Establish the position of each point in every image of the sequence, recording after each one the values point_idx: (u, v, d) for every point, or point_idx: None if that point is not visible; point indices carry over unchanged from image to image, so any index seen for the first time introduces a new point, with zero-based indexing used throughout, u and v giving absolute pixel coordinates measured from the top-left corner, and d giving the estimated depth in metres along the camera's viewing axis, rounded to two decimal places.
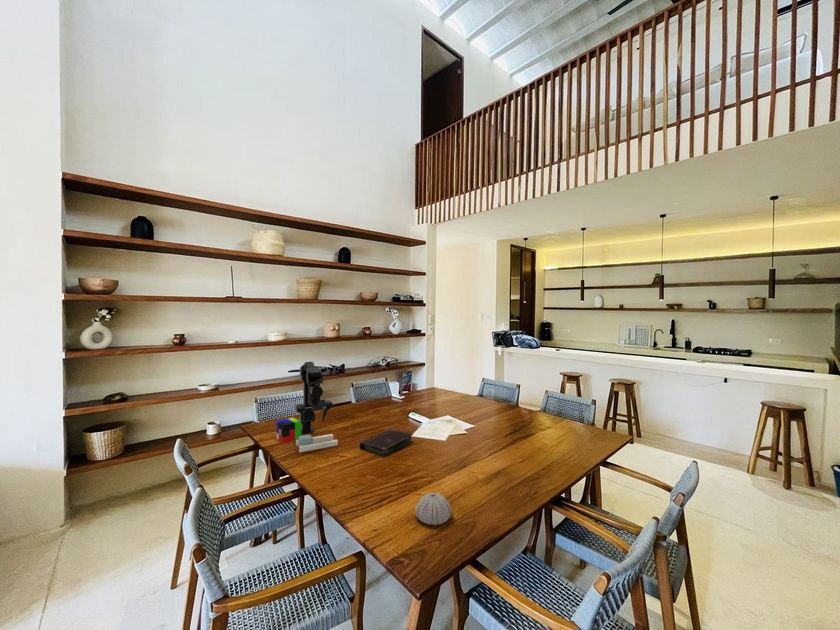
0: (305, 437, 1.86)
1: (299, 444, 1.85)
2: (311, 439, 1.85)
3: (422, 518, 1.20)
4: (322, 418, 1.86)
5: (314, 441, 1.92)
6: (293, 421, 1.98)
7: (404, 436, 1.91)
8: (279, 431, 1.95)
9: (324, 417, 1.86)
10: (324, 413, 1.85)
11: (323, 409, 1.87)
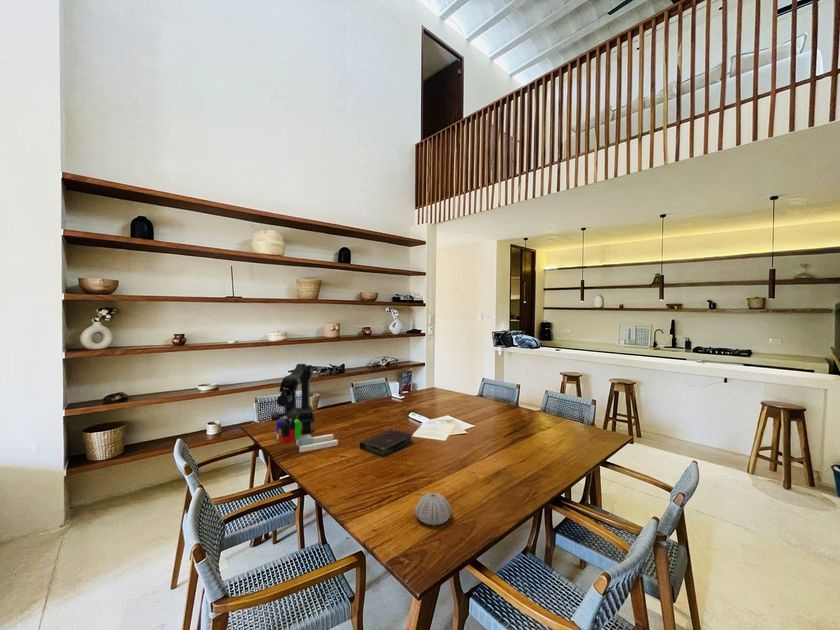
0: (305, 437, 1.86)
1: (299, 444, 1.85)
2: (311, 439, 1.85)
3: (422, 518, 1.20)
4: None
5: (314, 441, 1.92)
6: None
7: (404, 436, 1.91)
8: (279, 431, 1.95)
9: None
10: (291, 422, 1.81)
11: (291, 418, 1.83)
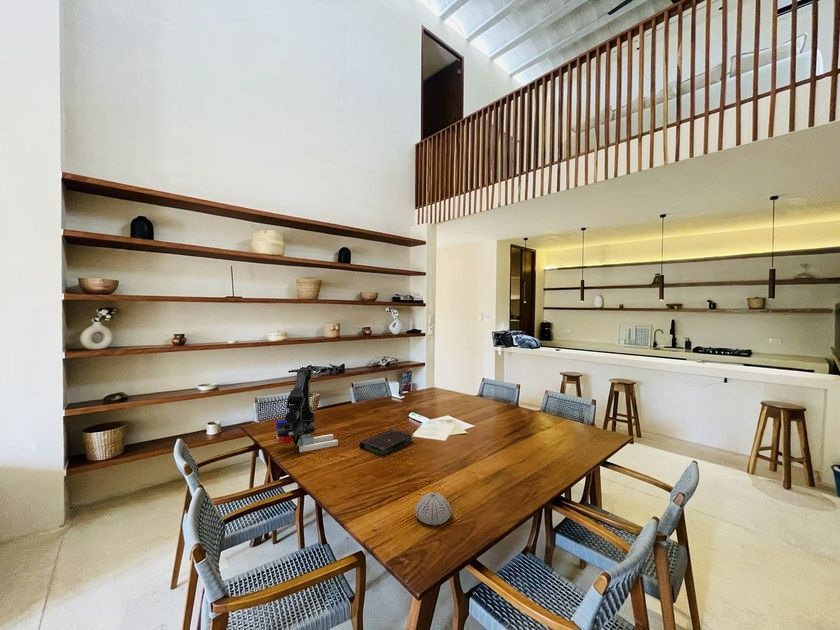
0: (306, 437, 1.86)
1: (300, 444, 1.85)
2: (312, 439, 1.85)
3: (422, 518, 1.20)
4: None
5: (314, 441, 1.92)
6: None
7: (404, 436, 1.90)
8: None
9: (297, 442, 1.83)
10: (297, 438, 1.83)
11: (296, 434, 1.84)
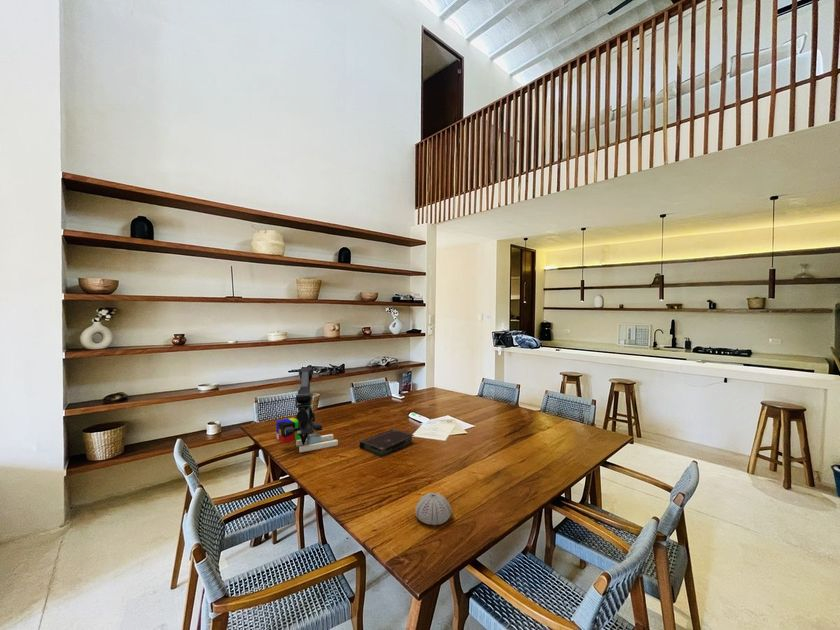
0: (313, 436, 1.88)
1: (307, 442, 1.87)
2: (319, 437, 1.87)
3: (422, 518, 1.20)
4: None
5: None
6: (293, 421, 1.98)
7: (404, 437, 1.90)
8: (279, 431, 1.95)
9: None
10: (305, 437, 1.84)
11: None
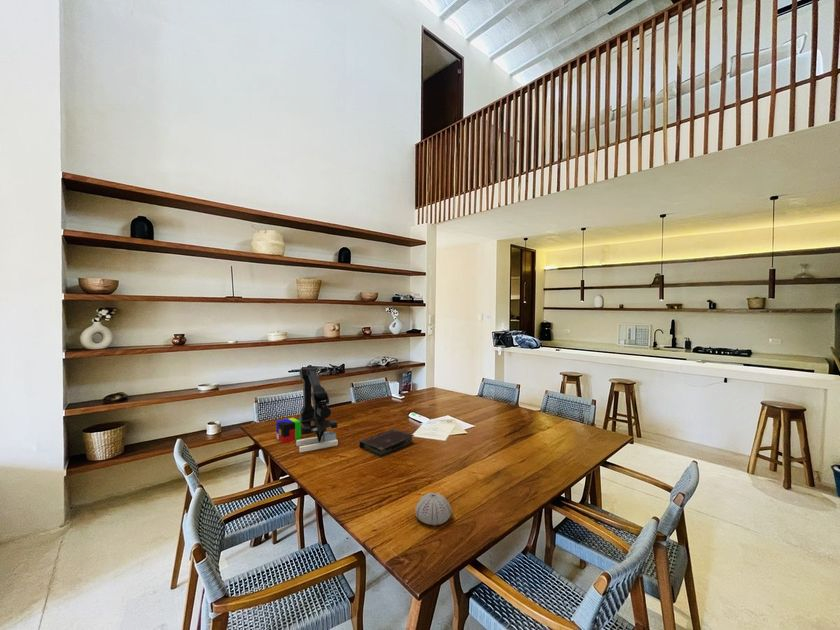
0: (328, 433, 1.91)
1: (323, 440, 1.91)
2: (334, 435, 1.90)
3: (422, 518, 1.20)
4: None
5: (314, 441, 1.92)
6: (293, 421, 1.98)
7: (404, 437, 1.90)
8: (279, 431, 1.95)
9: None
10: (321, 434, 1.89)
11: (320, 430, 1.90)
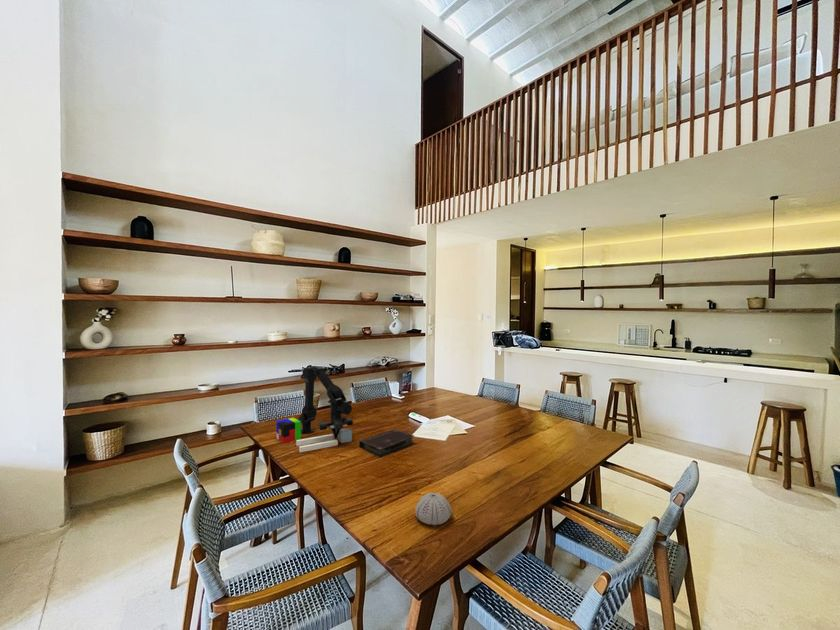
0: (344, 430, 1.96)
1: (339, 437, 1.96)
2: (350, 432, 1.94)
3: (422, 518, 1.20)
4: None
5: (314, 441, 1.92)
6: (293, 421, 1.98)
7: (404, 437, 1.90)
8: (279, 431, 1.95)
9: (337, 435, 1.93)
10: (337, 432, 1.93)
11: None
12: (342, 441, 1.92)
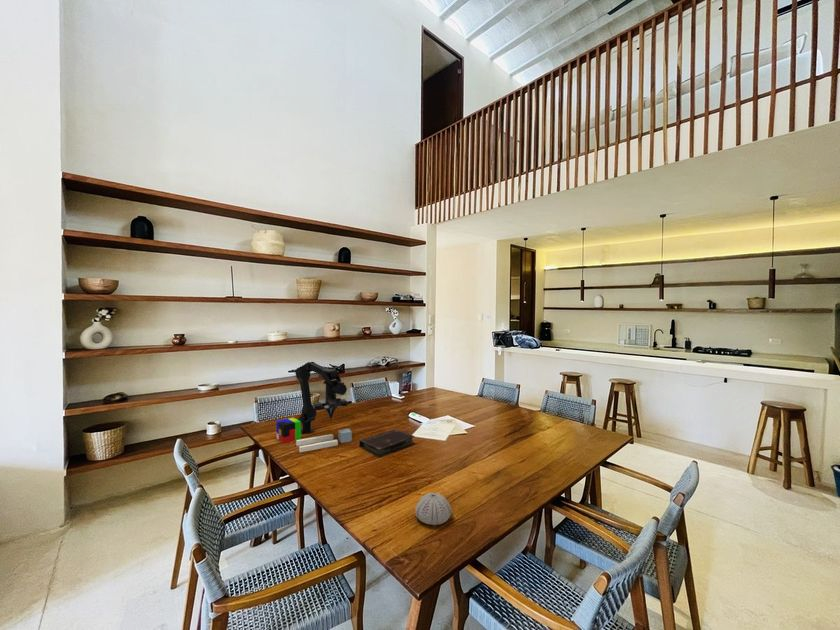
0: (344, 431, 1.96)
1: (339, 437, 1.96)
2: (350, 433, 1.94)
3: (422, 518, 1.20)
4: None
5: (314, 441, 1.92)
6: (293, 421, 1.98)
7: (404, 437, 1.89)
8: (279, 431, 1.95)
9: None
10: (332, 412, 1.97)
11: (331, 408, 1.98)
12: (342, 441, 1.92)
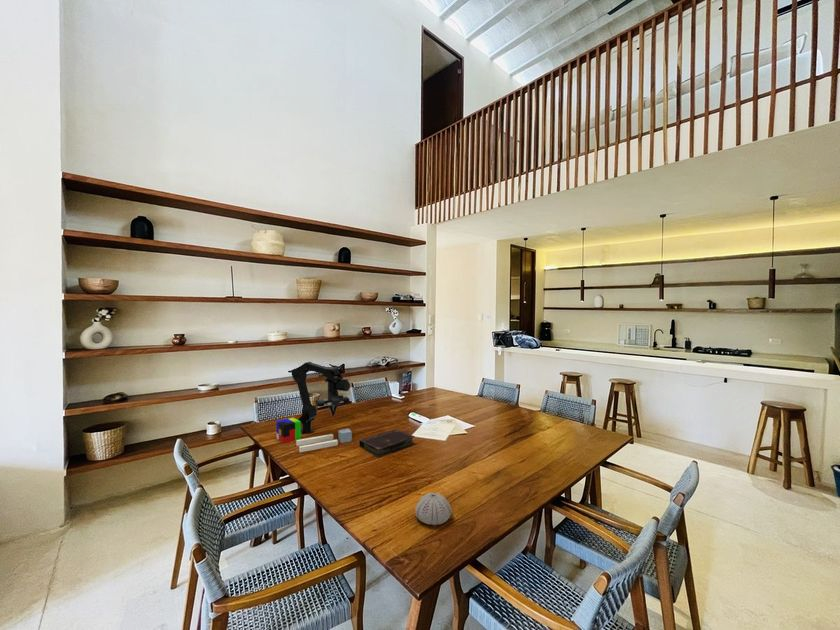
0: (344, 431, 1.96)
1: (339, 437, 1.96)
2: (350, 433, 1.94)
3: (422, 518, 1.20)
4: None
5: (314, 441, 1.92)
6: (293, 421, 1.98)
7: (404, 437, 1.89)
8: (279, 431, 1.95)
9: (334, 412, 2.01)
10: (334, 409, 2.01)
11: (333, 405, 2.02)
12: (342, 441, 1.92)
